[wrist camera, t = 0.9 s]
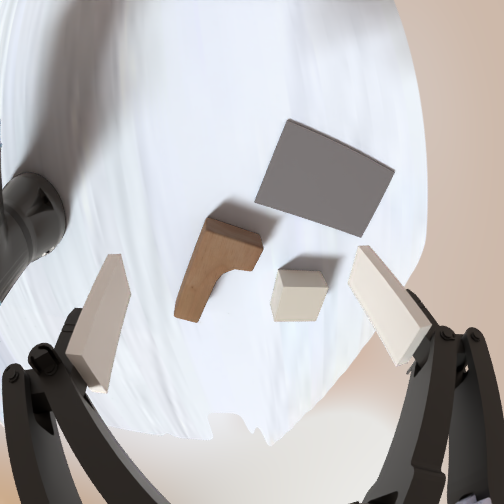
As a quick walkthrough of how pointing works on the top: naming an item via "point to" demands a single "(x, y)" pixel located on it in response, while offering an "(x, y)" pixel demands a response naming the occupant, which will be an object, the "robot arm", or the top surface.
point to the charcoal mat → (323, 181)
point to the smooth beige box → (298, 295)
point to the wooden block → (214, 264)
